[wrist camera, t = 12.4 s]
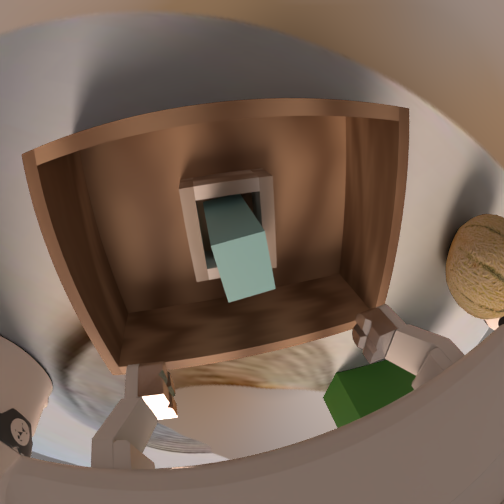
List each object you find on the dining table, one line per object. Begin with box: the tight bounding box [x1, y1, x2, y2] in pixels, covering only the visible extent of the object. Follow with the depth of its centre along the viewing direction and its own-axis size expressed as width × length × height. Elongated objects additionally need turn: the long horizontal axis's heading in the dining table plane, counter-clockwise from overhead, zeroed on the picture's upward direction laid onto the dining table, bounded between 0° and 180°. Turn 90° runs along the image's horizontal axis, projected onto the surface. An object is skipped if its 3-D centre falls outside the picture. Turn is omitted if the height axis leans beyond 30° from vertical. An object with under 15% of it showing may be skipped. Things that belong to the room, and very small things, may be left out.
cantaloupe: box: [446, 214, 504, 320], centre depth 26 cm, size 15×15×15 cm
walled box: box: [22, 98, 409, 375], centre depth 20 cm, size 24×18×8 cm
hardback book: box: [323, 360, 416, 428], centre depth 33 cm, size 18×7×24 cm, turn 84°
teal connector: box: [203, 194, 276, 302], centre depth 19 cm, size 3×4×8 cm
